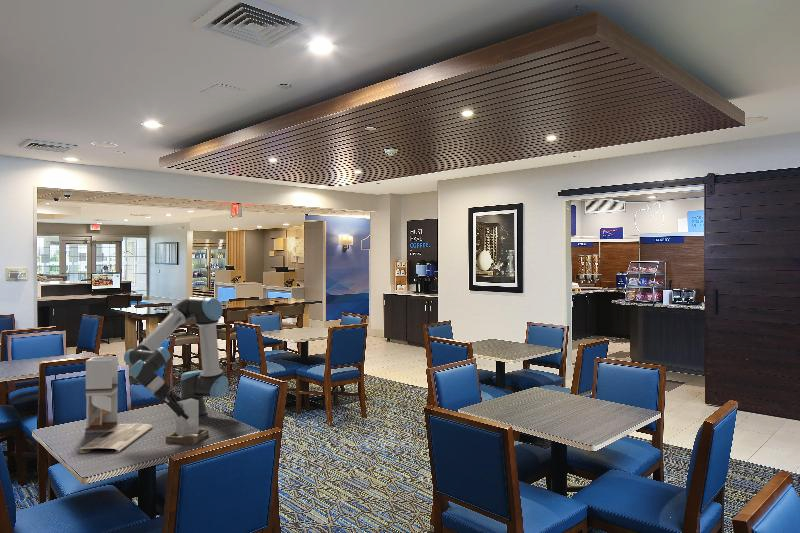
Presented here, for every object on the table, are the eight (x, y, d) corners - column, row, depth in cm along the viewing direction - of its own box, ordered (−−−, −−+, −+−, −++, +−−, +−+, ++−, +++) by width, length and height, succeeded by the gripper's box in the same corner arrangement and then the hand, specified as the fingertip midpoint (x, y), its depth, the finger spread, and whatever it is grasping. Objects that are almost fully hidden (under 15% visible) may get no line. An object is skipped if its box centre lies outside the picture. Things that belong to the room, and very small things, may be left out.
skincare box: (191, 430, 267) (192, 397, 267) (199, 433, 263) (199, 400, 263) (175, 434, 260) (175, 401, 260) (182, 437, 256) (183, 403, 256)
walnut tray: (182, 433, 269) (182, 427, 269) (208, 435, 267) (208, 429, 267) (165, 442, 256) (165, 436, 256) (192, 444, 254) (192, 438, 254)
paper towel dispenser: (85, 432, 269) (85, 360, 269) (92, 426, 279) (93, 356, 279) (111, 431, 271) (111, 359, 271) (117, 425, 282) (117, 356, 282)
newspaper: (116, 429, 278) (117, 423, 278) (156, 428, 279) (156, 423, 279) (77, 454, 241) (77, 447, 241) (122, 454, 242) (122, 447, 242)
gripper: (156, 388, 268) (191, 419, 272) (147, 399, 247) (185, 432, 251) (168, 376, 270) (202, 407, 274) (160, 387, 248) (198, 420, 252)
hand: (194, 419), depth 262 cm, fingers closed on skincare box, 10 cm apart
